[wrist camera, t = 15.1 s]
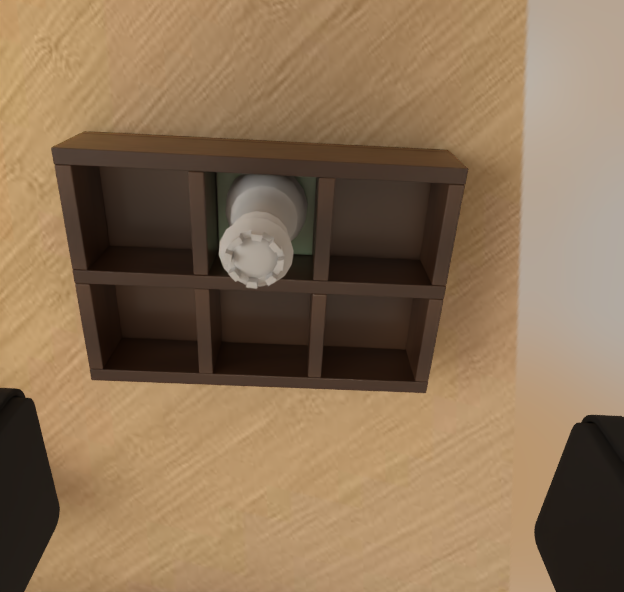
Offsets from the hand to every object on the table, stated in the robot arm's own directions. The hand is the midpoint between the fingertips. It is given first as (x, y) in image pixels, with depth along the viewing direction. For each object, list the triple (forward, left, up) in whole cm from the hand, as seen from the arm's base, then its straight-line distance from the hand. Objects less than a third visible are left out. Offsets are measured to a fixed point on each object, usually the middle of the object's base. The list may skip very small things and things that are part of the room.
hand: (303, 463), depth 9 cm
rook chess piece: (+2, -2, -22) cm, 22 cm away
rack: (+6, -2, -22) cm, 23 cm away
